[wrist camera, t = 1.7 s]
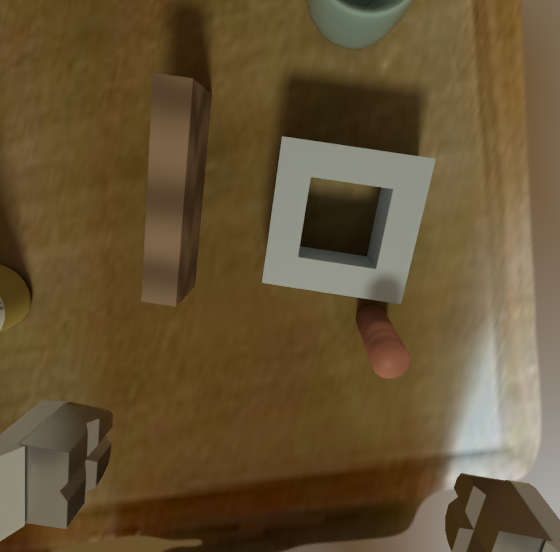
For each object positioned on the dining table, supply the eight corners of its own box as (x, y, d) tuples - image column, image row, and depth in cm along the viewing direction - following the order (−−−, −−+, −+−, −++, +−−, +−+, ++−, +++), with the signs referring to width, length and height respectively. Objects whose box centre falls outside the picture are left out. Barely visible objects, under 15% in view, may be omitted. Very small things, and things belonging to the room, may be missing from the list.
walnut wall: (178, 89, 35) (153, 72, 29) (211, 93, 35) (193, 78, 29) (165, 282, 39) (141, 301, 34) (194, 286, 39) (175, 306, 34)
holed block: (285, 140, 35) (282, 136, 30) (417, 160, 35) (435, 158, 30) (267, 268, 38) (262, 282, 34) (388, 287, 38) (400, 304, 33)
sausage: (359, 302, 39) (375, 340, 30) (389, 307, 39) (413, 346, 30) (353, 330, 40) (367, 375, 31) (382, 334, 40) (405, 381, 31)
